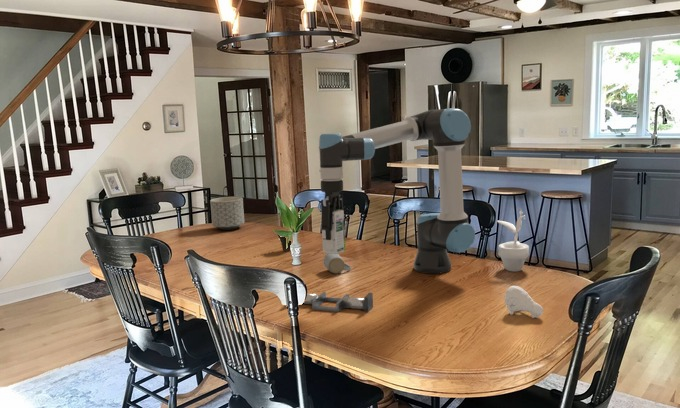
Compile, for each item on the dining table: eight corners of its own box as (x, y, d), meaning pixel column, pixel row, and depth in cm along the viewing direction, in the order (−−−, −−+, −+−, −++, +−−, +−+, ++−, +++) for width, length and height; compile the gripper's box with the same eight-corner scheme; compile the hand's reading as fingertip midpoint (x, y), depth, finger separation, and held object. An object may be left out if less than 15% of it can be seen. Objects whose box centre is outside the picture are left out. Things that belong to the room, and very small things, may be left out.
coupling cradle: (375, 304, 183) (374, 290, 182) (365, 314, 174) (365, 300, 173) (299, 297, 193) (299, 284, 193) (287, 307, 185) (286, 293, 184)
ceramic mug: (329, 275, 219) (328, 257, 218) (323, 270, 227) (323, 252, 225) (353, 272, 222) (353, 254, 221) (347, 267, 230) (346, 250, 228)
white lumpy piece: (513, 281, 172) (549, 293, 164) (511, 306, 174) (546, 318, 166) (503, 286, 168) (538, 298, 160) (500, 311, 170) (535, 324, 162)
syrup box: (336, 254, 180) (335, 212, 178) (322, 252, 183) (320, 211, 181) (345, 251, 185) (344, 209, 183) (331, 249, 188) (330, 208, 186)
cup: (298, 251, 258) (294, 231, 257) (280, 254, 258) (275, 234, 257) (299, 247, 267) (296, 228, 266) (282, 250, 267) (278, 231, 266)
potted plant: (533, 268, 215) (534, 207, 211) (521, 275, 207) (521, 211, 203) (504, 263, 224) (504, 204, 219) (490, 270, 215) (490, 209, 211)
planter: (207, 232, 316) (205, 202, 313) (220, 225, 334) (217, 196, 331) (238, 232, 313) (236, 201, 310) (249, 225, 331) (246, 196, 328)
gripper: (332, 176, 190) (334, 239, 194) (309, 182, 173) (311, 252, 176) (352, 176, 187) (354, 241, 191) (330, 183, 170) (332, 254, 174)
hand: (333, 246), depth 184 cm, fingers closed on syrup box, 6 cm apart
